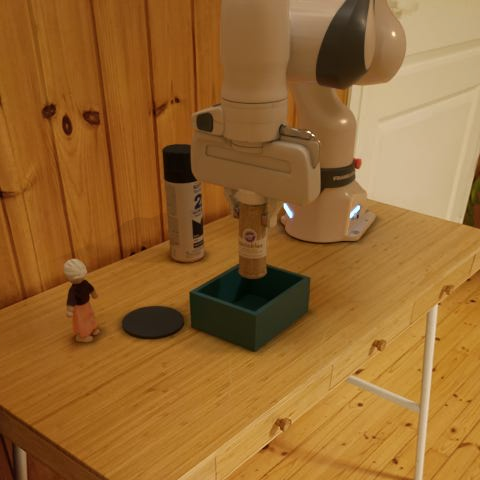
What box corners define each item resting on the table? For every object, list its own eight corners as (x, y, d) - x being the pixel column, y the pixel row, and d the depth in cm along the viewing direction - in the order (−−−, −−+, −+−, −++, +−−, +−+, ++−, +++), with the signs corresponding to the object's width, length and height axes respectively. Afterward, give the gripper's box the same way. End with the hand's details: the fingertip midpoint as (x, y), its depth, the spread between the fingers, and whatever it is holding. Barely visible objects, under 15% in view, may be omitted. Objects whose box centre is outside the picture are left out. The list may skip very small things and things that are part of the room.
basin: (247, 291, 108) (247, 258, 104) (308, 311, 102) (311, 277, 98) (190, 326, 98) (189, 291, 94) (255, 351, 92) (255, 315, 88)
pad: (151, 302, 104) (151, 300, 104) (196, 319, 100) (196, 317, 99) (109, 326, 98) (108, 323, 98) (155, 345, 93) (155, 343, 93)
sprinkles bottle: (238, 280, 94) (237, 191, 85) (238, 267, 97) (238, 180, 88) (267, 280, 94) (270, 191, 85) (267, 267, 97) (269, 180, 88)
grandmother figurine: (83, 323, 99) (69, 248, 91) (106, 326, 98) (94, 250, 90) (65, 348, 93) (49, 270, 85) (89, 351, 92) (75, 273, 84)
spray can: (199, 264, 116) (194, 154, 104) (165, 261, 117) (156, 152, 105) (207, 251, 121) (204, 144, 109) (175, 248, 122) (168, 141, 110)
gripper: (334, 126, 78) (325, 231, 87) (209, 105, 88) (212, 201, 97) (308, 137, 75) (301, 245, 83) (181, 114, 84) (187, 213, 93)
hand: (253, 221), depth 90 cm, fingers closed on sprinkles bottle, 4 cm apart
